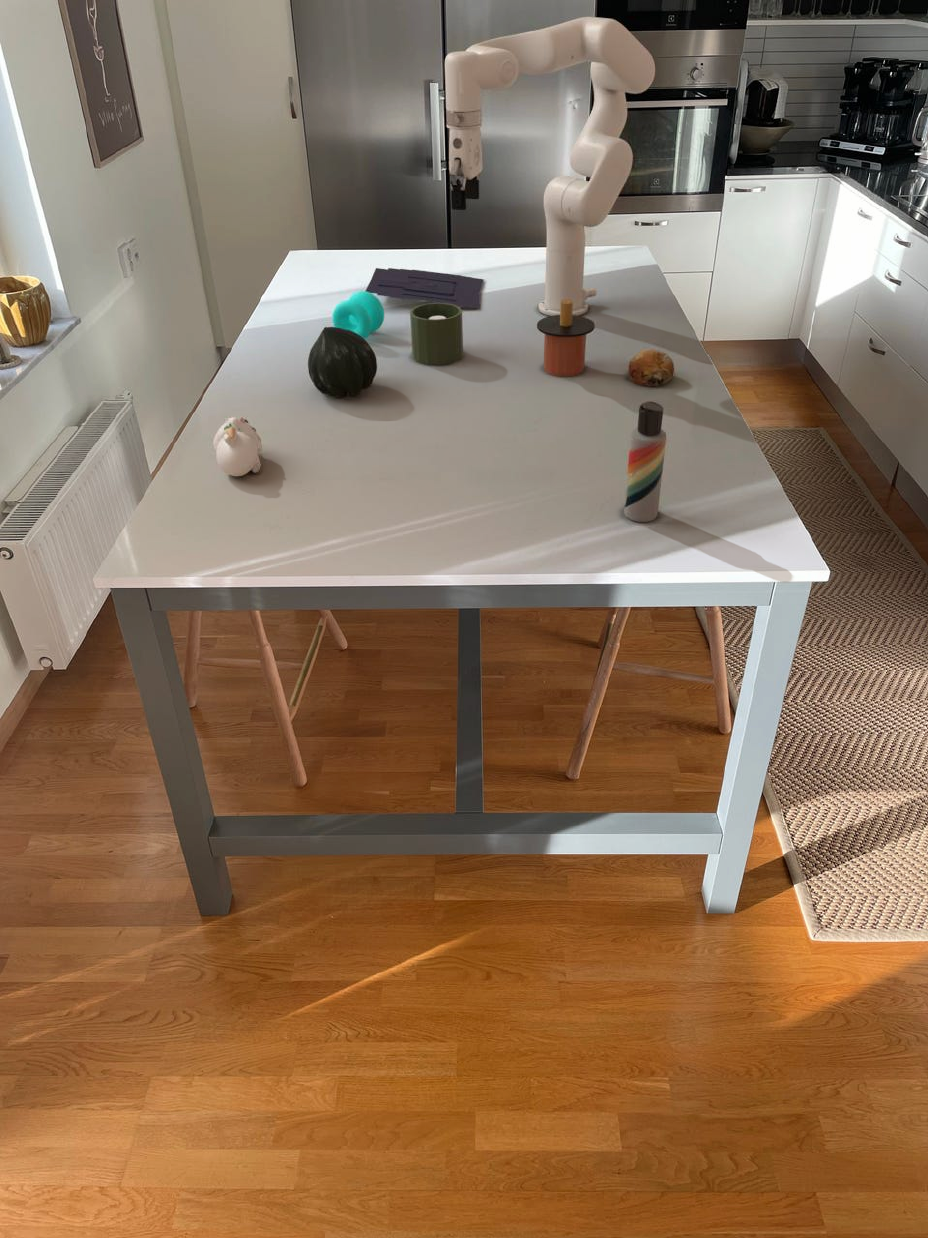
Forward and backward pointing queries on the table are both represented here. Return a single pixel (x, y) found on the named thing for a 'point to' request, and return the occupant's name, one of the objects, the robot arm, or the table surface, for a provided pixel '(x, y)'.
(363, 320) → the donuts
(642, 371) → the bread roll
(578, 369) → the cup
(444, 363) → the pot
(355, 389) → the squash
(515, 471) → the table surface
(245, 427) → the white bird figurine
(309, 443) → the table surface
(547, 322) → the lid
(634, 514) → the lotion bottle
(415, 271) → the papers
